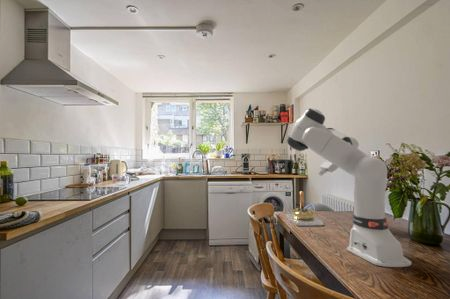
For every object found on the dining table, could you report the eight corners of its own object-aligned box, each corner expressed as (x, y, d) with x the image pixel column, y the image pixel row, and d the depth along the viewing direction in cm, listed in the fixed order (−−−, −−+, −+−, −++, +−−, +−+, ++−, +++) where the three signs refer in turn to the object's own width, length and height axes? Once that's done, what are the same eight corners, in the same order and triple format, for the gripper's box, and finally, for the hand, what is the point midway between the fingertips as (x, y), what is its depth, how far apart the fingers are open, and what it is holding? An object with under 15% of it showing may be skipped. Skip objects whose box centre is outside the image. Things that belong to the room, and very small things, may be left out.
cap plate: (323, 225, 134) (323, 221, 135) (296, 225, 134) (296, 222, 134) (309, 216, 154) (309, 213, 155) (286, 216, 154) (286, 213, 154)
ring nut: (311, 213, 152) (311, 191, 152) (315, 220, 137) (315, 195, 138) (291, 213, 154) (291, 190, 155) (293, 219, 140) (293, 194, 140)
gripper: (327, 155, 160) (312, 170, 161) (337, 155, 140) (320, 172, 141) (334, 162, 159) (319, 176, 161) (345, 163, 139) (328, 179, 140)
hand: (319, 174), depth 151 cm, fingers closed
